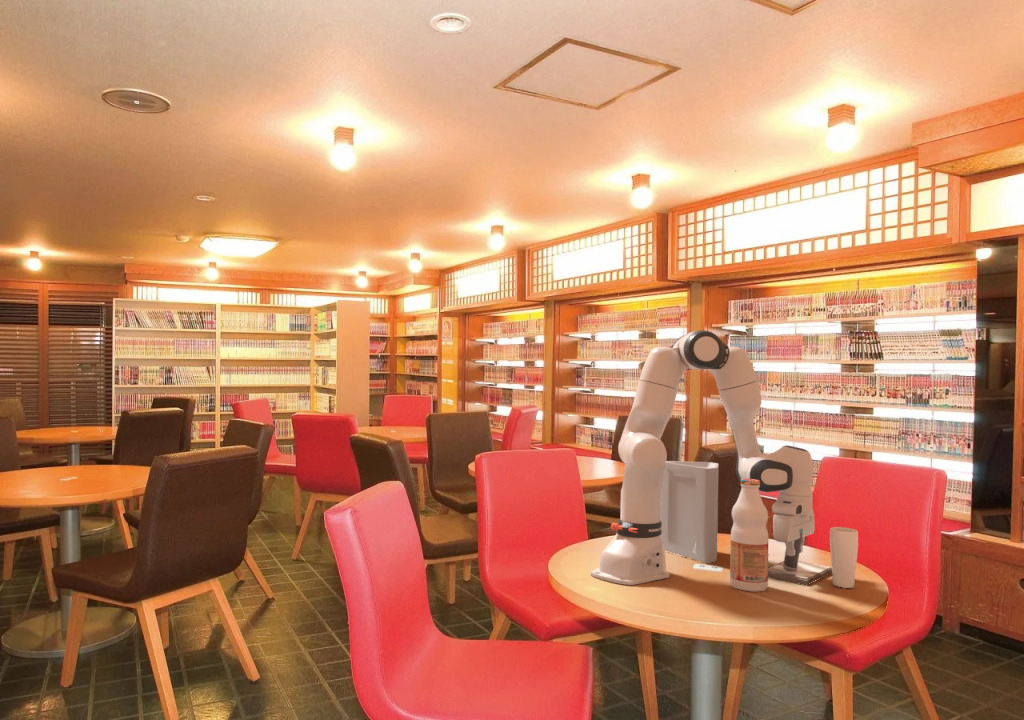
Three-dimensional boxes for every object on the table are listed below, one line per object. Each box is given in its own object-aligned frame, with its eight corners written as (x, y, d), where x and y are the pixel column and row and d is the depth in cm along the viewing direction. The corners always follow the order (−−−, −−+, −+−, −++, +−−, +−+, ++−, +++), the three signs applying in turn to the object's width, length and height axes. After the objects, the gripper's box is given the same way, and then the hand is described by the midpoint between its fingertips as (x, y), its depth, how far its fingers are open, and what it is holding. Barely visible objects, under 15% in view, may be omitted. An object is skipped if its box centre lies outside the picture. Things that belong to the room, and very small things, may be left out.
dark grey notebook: (806, 585, 185) (806, 577, 185) (759, 575, 194) (759, 567, 194) (833, 572, 199) (833, 564, 199) (788, 563, 208) (788, 555, 208)
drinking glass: (855, 584, 187) (856, 528, 188) (859, 591, 181) (859, 533, 181) (828, 581, 190) (828, 526, 190) (830, 588, 183) (831, 530, 184)
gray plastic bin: (738, 557, 213) (739, 466, 214) (705, 563, 205) (707, 468, 206) (690, 544, 229) (691, 459, 230) (658, 550, 221) (660, 461, 222)
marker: (793, 572, 193) (800, 531, 191) (780, 567, 195) (787, 526, 194) (798, 569, 196) (805, 528, 194) (786, 564, 198) (792, 524, 196)
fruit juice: (722, 585, 184) (723, 478, 185) (744, 580, 189) (746, 476, 190) (752, 594, 176) (754, 483, 177) (775, 589, 181) (776, 481, 182)
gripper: (798, 498, 204) (798, 546, 204) (769, 506, 190) (768, 557, 189) (820, 501, 200) (820, 550, 200) (792, 510, 185) (791, 562, 185)
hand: (794, 554), depth 194 cm, fingers closed on marker, 4 cm apart
